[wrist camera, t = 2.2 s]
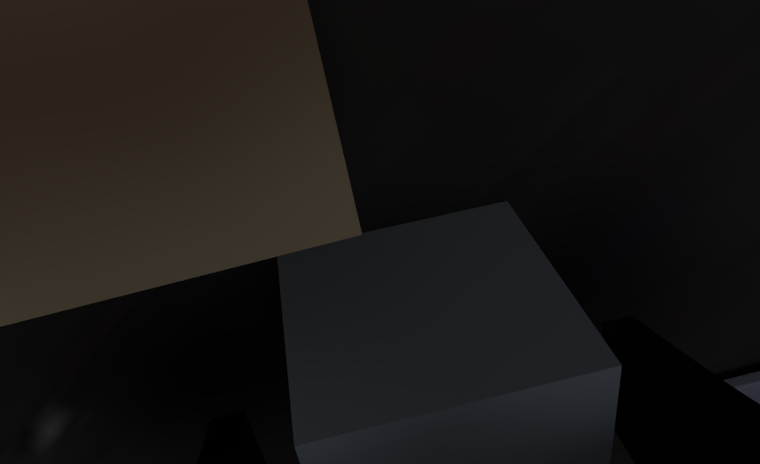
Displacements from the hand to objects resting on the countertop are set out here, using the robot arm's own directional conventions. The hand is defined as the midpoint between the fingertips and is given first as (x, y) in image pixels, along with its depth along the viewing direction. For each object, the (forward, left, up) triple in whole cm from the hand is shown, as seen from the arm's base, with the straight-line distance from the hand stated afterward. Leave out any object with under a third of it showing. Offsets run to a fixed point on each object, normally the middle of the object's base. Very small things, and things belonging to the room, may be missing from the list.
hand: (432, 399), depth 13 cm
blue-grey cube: (0, 0, -3) cm, 3 cm away
